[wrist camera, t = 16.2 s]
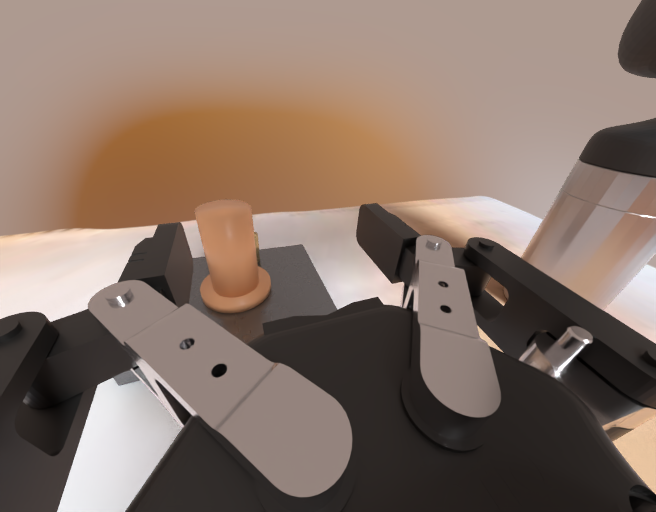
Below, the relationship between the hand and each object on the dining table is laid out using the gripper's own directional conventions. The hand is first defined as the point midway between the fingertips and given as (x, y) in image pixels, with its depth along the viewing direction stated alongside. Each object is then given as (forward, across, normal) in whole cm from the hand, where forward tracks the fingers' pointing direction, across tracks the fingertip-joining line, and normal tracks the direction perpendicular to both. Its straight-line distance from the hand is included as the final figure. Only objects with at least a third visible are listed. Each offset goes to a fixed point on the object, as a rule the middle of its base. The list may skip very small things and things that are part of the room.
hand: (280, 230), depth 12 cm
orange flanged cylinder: (+14, +3, +14) cm, 20 cm away
